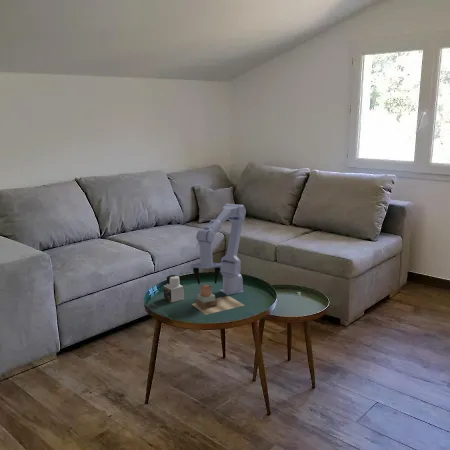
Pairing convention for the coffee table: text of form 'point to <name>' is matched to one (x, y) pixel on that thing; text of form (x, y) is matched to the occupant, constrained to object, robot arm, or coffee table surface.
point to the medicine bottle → (173, 289)
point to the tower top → (206, 298)
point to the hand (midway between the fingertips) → (207, 283)
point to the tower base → (206, 304)
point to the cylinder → (205, 290)
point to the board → (220, 305)
